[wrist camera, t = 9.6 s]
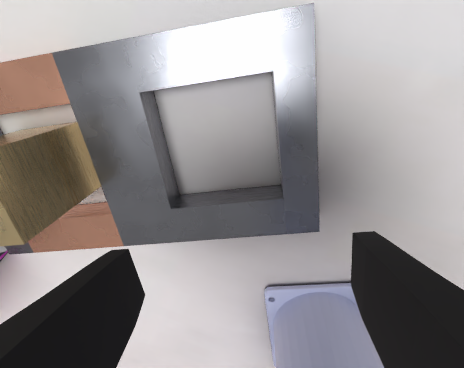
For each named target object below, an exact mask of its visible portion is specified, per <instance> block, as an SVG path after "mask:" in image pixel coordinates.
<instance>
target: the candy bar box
mask: <svg viewBox="0 0 464 368" xmlns="http://www.w3.org/2000/svg"><path fill="white" fill-rule="evenodd" d="M7 252H8V251H7V249H6V247H5V246H0V261H1V259H2V258H3V257H4V256H5V254H6V253H7Z"/></svg>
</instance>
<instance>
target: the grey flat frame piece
mask: <svg viewBox="0 0 464 368" xmlns="http://www.w3.org/2000/svg"><path fill="white" fill-rule="evenodd" d="M265 72H272V84H273V96H274V108H275V120H276V132H277V144H278V155H279V167H280V179H281V185H275V186H265V187H255V188H245V189H235V190H224V191H214V192H204V193H194V194H184V195H179V192H178V188H177V184H176V180H175V176H174V172H173V168H172V164H171V160H170V156H169V152H168V148H167V144H166V140H165V136H164V132H163V128H162V124H161V120H160V116H159V112H158V108H157V104H156V100H155V96H154V92H153V90H158V89H164V88H170V87H177V86H183V85H189V84H196V83H202V82H208V81H214V80H221V79H227V78H233V77H239V76H246V75H252V74H258V73H265ZM64 104H71V106H72V109H73V112H74V114H75V117H76V120H77V122H78V125H79V128H80V130H81V133H82V136H83V138H84V141H85V144H86V146H87V149H88V152H89V154H90V157H91V160H92V162H93V165H94V168H95V170H96V173H97V176H98V178H99V181H100V184H101V186H102V189H103V192H104V194H105V197H106V200H107V202H104V203H94V204H84V205H76V206H74V207H73V208H72V209H70V210H69V211H68V212H66V213H65V214H64V215H62V216H61V217H60V218H58V219H57V220H56V221H54V222H53V223H52V224H51V225H49V226H48V227H47V228H45V229H44V230H43V231H41V232H40V233H39V234H37V235H36V236H35V237H33V238H32V239H31V240H29V241H28V242H27V243H26V244H24V245H11V246H5V247H6V249H7V251H8V252H9V254H22V253H35V252H49V251H63V250H76V249H90V248H103V247H117V246H131V245H144V244H158V243H171V242H185V241H199V240H212V239H226V238H240V237H253V236H267V235H280V234H294V233H308V232H319V190H318V147H317V105H316V63H315V20H314V3H311V4H305V5H300V6H295V7H290V8H284V9H279V10H274V11H269V12H263V13H258V14H253V15H248V16H243V17H237V18H232V19H227V20H222V21H216V22H211V23H206V24H201V25H195V26H190V27H185V28H180V29H174V30H169V31H164V32H159V33H153V34H148V35H143V36H138V37H133V38H127V39H122V40H117V41H112V42H106V43H101V44H96V45H91V46H85V47H80V48H75V49H70V50H64V51H59V52H54V53H49V54H43V55H38V56H33V57H28V58H22V59H17V60H12V61H7V62H2V63H0V115H1V114H7V113H13V112H20V111H26V110H32V109H39V108H45V107H51V106H57V105H64ZM1 135H3V133H2V131H1V129H0V136H1Z"/></svg>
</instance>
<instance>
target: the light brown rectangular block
mask: <svg viewBox="0 0 464 368" xmlns="http://www.w3.org/2000/svg"><path fill="white" fill-rule="evenodd" d="M99 187H101V184H100V181H99V178H98V176H97V173H96V170H95V168H94V165H93V162H92V160H91V157H90V154H89V152H88V149H87V146H86V144H85V141H84V138H83V136H82V133H81V130H80V128H79V125H78V122H74V123H67V124H60V125H53V126H46V127H39V128H32V129H26V130H20V131H16V132H12V133H8V134H5V135H1V136H0V246H11V245H24V244H26V243H27V242H28V241H29V240H31V239H32V238H33V237H35V236H36V235H37V234H39V233H40V232H41V231H43V230H44V229H45V228H47V227H48V226H49V225H51V224H52V223H53V222H54V221H56V220H57V219H58V218H60V217H61V216H62V215H64V214H65V213H66V212H68V211H69V210H70V209H72V208H73V207H74V206H76V205H77V204H78V203H80V202H81V201H82V200H83V199H85V198H86V197H87V196H89V195H90V194H91V193H93V192H94V191H95V190H97V189H98V188H99Z"/></svg>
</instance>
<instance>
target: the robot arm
mask: <svg viewBox="0 0 464 368" xmlns="http://www.w3.org/2000/svg"><path fill="white" fill-rule="evenodd" d="M264 295H265V302H266V310H267V317H268V325H269V332H270V340H271V347H272V355H273V362H274V366H275V367H276V368H464V290H462V289H461V288H459V287H458V286H456V285H455V284H453V283H451V282H450V281H448V280H447V279H445V278H443V277H442V276H440V275H439V274H437V273H436V272H434V271H433V270H431V269H430V268H428V267H427V266H425V265H424V264H422V263H421V262H419V261H418V260H416V259H415V258H413V257H412V256H410V255H409V254H407V253H406V252H404V251H403V250H402V249H400V248H399V247H397V246H396V245H394V244H393V243H391V242H390V241H388V240H387V239H385V238H384V237H382V236H381V235H379V234H378V233H376V232H375V231H373V232H359V233H353V240H352V269H351V283H340V284H319V285H297V286H276V287H267V288H266V289H265V291H264ZM144 297H145V293H144V290H143V288H142V285H141V282H140V279H139V277H138V274H137V271H136V269H135V266H134V263H133V260H132V258H131V255H130V252H129V250H128V249H121V250H111V251H109V252H108V253H106V254H104V255H103V256H101V257H99V258H98V259H96V260H95V261H93V262H92V263H90V264H89V265H87V266H86V267H85V268H83V269H82V270H80V271H79V272H77V273H76V274H74V275H73V276H72V277H70V278H69V279H67V280H66V281H64V282H63V283H62V284H60V285H59V286H57V287H56V288H54V289H53V290H51V291H50V292H49V293H47V294H46V295H44V296H43V297H41V298H40V299H38V300H37V301H35V302H34V303H32V304H31V305H29V306H28V307H26V308H25V309H23V310H22V311H20V312H19V313H17V314H15V315H14V316H12V317H11V318H9V319H8V320H6V321H5V322H3V323H2V324H0V368H116V367H117V365H118V362H119V360H120V358H121V356H122V354H123V352H124V350H125V347H126V345H127V343H128V341H129V339H130V336H131V334H132V332H133V330H134V327H135V325H136V322H137V319H138V316H139V313H140V310H141V307H142V303H143V300H144ZM270 297H273V298H270Z"/></svg>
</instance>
